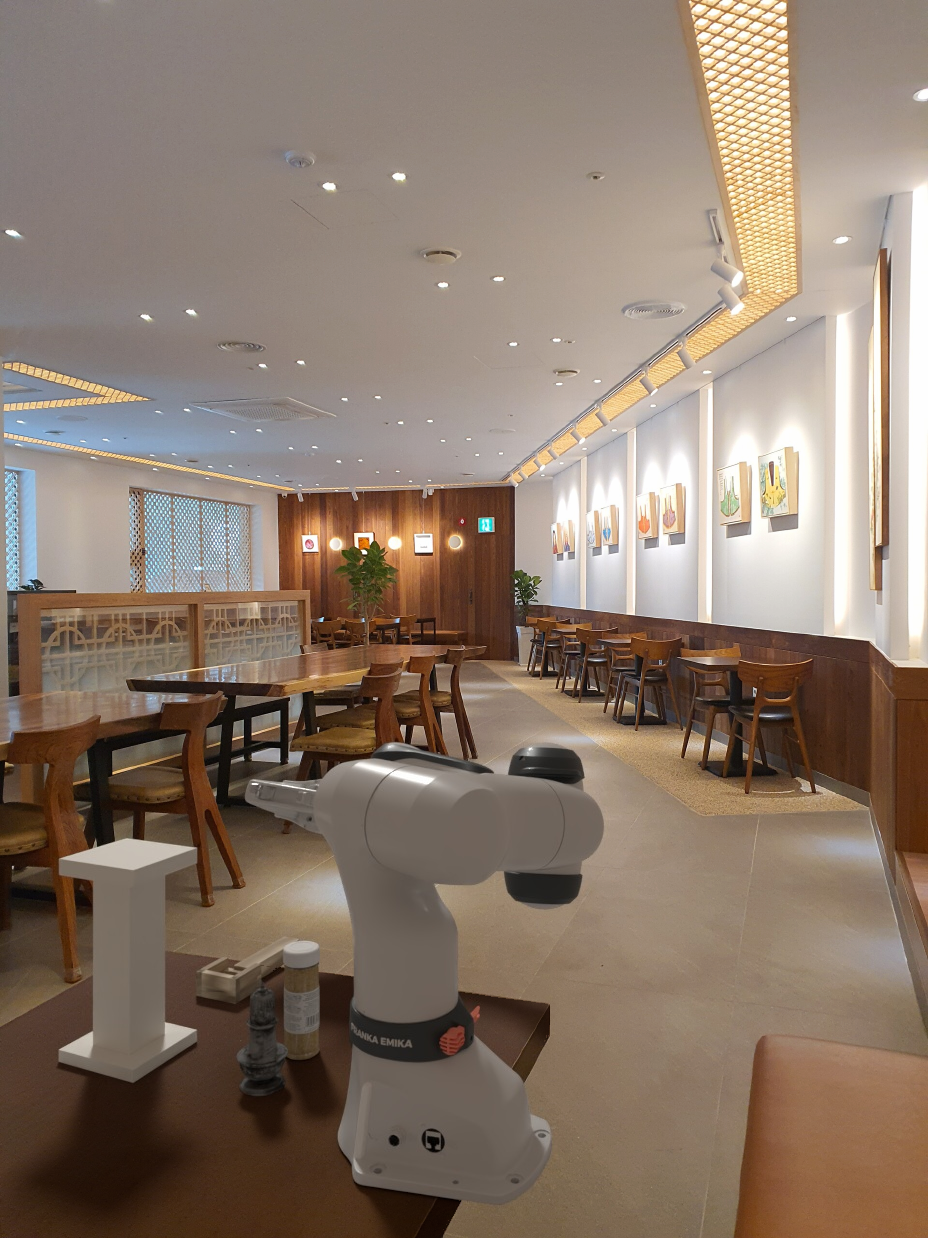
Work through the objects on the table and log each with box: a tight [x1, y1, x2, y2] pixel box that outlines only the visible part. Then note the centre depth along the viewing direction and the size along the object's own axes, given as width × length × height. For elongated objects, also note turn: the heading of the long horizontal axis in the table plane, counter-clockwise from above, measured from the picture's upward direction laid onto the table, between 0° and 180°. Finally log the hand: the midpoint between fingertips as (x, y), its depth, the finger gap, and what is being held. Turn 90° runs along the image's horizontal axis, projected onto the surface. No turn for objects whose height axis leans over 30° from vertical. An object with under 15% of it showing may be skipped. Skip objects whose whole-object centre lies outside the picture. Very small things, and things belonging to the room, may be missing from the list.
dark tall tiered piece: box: [236, 981, 288, 1097], centre depth 103 cm, size 6×6×12 cm
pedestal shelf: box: [58, 837, 198, 1084], centre depth 110 cm, size 12×11×25 cm
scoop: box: [195, 936, 301, 1005], centre depth 134 cm, size 7×19×4 cm, turn 157°
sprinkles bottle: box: [283, 940, 321, 1061], centre depth 110 cm, size 5×5×14 cm
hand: (275, 792), depth 136 cm, fingers open, 8 cm apart
